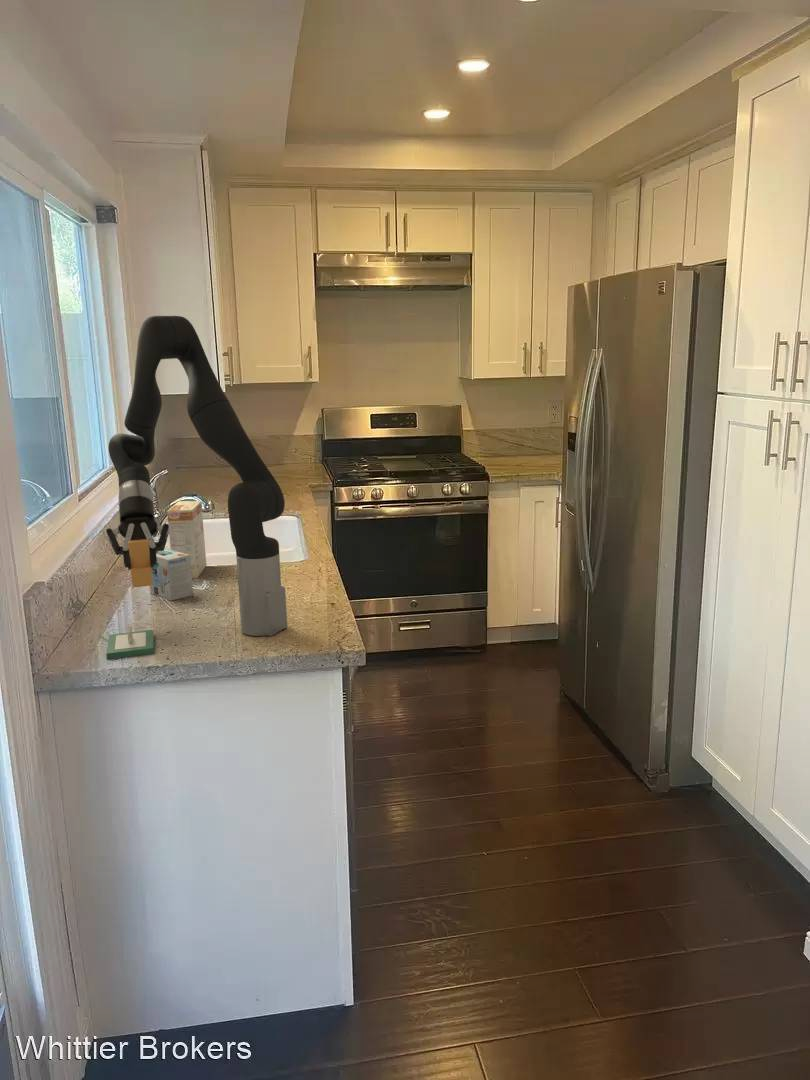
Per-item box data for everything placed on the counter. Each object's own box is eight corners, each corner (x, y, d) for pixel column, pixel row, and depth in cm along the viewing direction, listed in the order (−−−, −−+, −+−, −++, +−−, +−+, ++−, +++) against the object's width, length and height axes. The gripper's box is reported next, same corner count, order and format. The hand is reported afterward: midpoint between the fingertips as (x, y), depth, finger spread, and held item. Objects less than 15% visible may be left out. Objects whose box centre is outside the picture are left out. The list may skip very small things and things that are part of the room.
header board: (109, 639, 166) (108, 623, 166) (153, 634, 169) (151, 618, 168) (107, 659, 155) (105, 641, 155) (153, 653, 158) (152, 635, 157)
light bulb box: (149, 593, 201) (145, 553, 199) (172, 587, 206) (169, 548, 203) (171, 601, 194) (167, 559, 192) (194, 595, 199) (191, 554, 196)
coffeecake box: (183, 566, 228) (177, 501, 224) (207, 565, 229) (202, 500, 224) (171, 579, 214) (165, 510, 209) (197, 578, 214) (192, 509, 210)
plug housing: (133, 576, 178) (129, 536, 176) (152, 574, 179) (148, 534, 177) (132, 587, 168) (127, 545, 166) (152, 585, 170) (148, 543, 168)
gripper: (101, 496, 173) (104, 561, 165) (167, 492, 177) (173, 554, 169) (105, 516, 179) (108, 579, 171) (169, 511, 184) (175, 572, 175)
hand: (141, 566), depth 170 cm, fingers closed on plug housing, 4 cm apart
